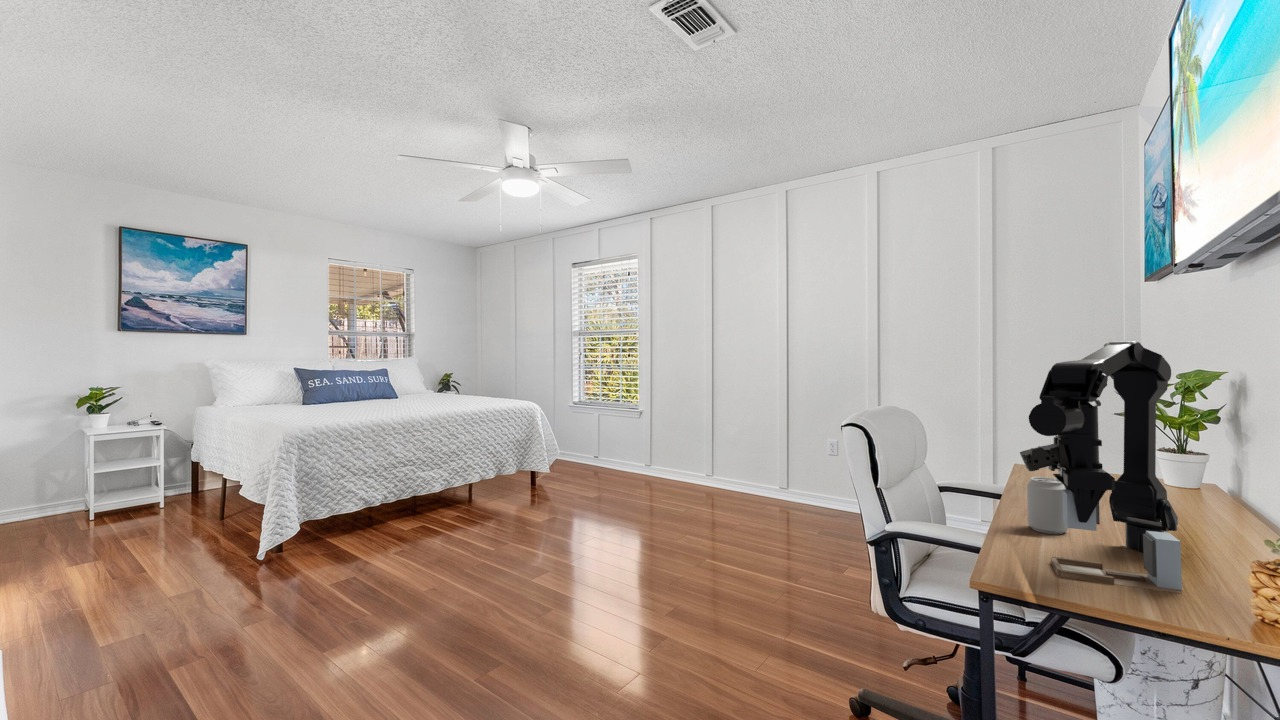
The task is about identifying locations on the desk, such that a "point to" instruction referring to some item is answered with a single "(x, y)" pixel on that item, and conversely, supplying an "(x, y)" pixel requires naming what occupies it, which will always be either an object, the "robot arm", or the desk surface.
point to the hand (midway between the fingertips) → (1079, 519)
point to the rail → (1102, 574)
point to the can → (1045, 505)
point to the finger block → (1071, 515)
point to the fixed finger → (1162, 559)
